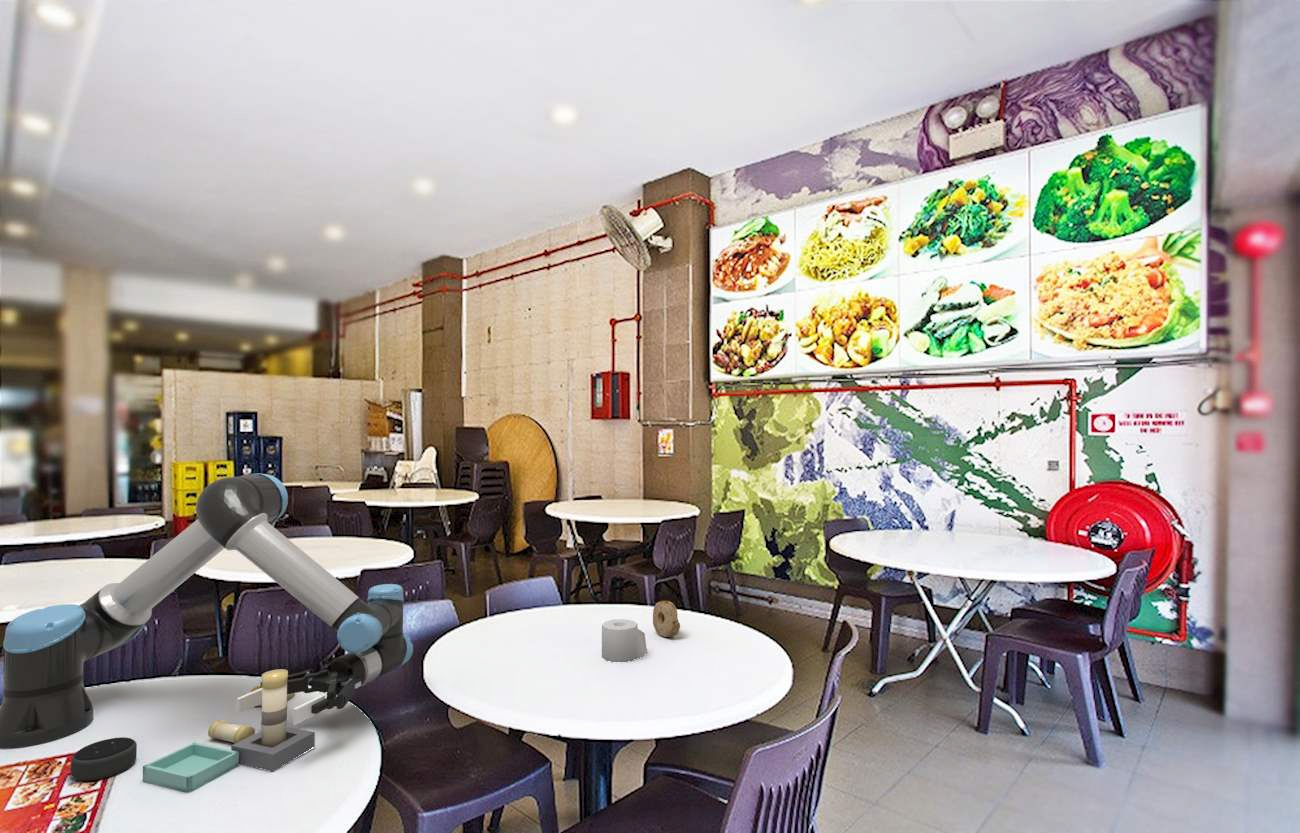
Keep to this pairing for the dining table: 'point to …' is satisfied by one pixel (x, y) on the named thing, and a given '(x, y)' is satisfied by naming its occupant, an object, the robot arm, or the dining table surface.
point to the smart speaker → (103, 759)
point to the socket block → (274, 749)
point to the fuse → (229, 731)
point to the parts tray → (190, 767)
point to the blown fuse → (274, 707)
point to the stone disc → (665, 619)
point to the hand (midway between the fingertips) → (265, 711)
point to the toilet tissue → (622, 641)
